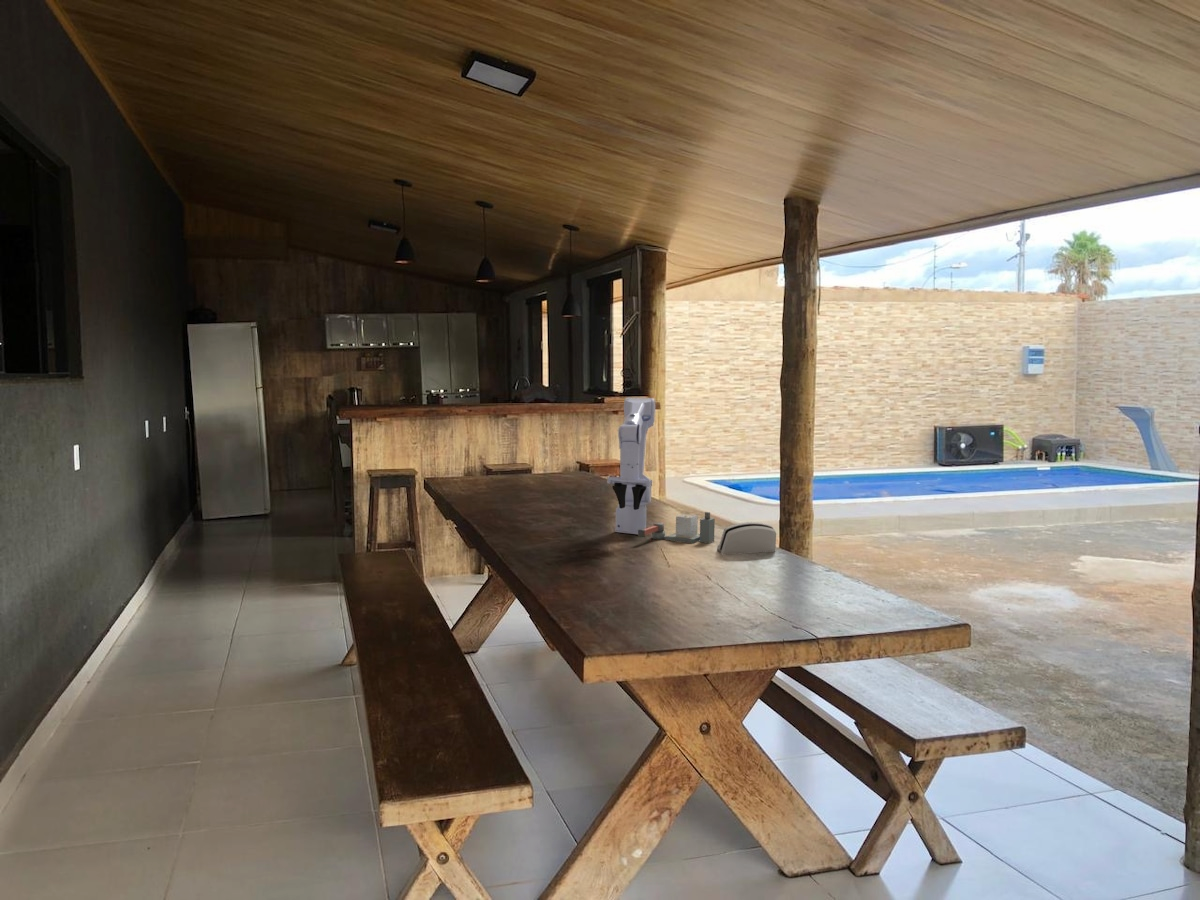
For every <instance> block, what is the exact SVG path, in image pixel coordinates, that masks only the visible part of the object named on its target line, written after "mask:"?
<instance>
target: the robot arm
mask: <svg viewBox="0 0 1200 900" xmlns="http://www.w3.org/2000/svg"><path fill="white" fill-rule="evenodd" d="M655 414H656V400H655V398H654V397H651V398H648V397H647V398H644V397H642V398H637V397H635V398H633V397H632V398H631V397H626V398H625V399H624V403H623V415H624V420H623V424H621V425H619V426H618V436H617V437H618V443H619V445H618V446H619V448H618V449H620V451H619V452H620V453H619V454H620V456H619V457H620V459H619V461H620V463H619V466H620V467H619V476H607V479H606V482H607V484H609V485H610V484H613V485H612V489H613V492H614V493H615V496H616V498H617V502H618V505H617V506H616V508H615V523H614V524H615V526H614V527H615V529H614V530H613V531H614V532H615V533H623V534H631V535H638V530H639V529H646V528H647V505H649V504H650V503H651V502H652V501H651V500H652V487H653V479H650V478H649V477H648V476H646V474H644V469H645V455H646V444H647V443H646V442H647V435H648V431H649V429H650V428H651V427H654V423H655V417H656V415H655Z"/></svg>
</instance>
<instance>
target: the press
mask: <svg viewBox="0 0 1200 900" xmlns="http://www.w3.org/2000/svg"><path fill="white" fill-rule="evenodd" d="M715 519H716V518H714V517H713V518H712V517H711V512H710V511H705V512H704V517H702V518H701V519H699V533H697V535H696V536H694V537H691V538H689V537H680V536H676V532H675V533H672V534H669V535H666V532H665V530H664V531H663V532H653V533H651V538H652V539H653V540H666V541H669V540H671V542H677V541H678V543H679V542H680V543H687V544H696V543H697V541H698V542H699V543H701V542H706V543H705V544H711V543H713V542H715V524H716V523H715ZM699 540H700V541H699ZM712 541H713V542H712ZM710 542H711V543H710Z"/></svg>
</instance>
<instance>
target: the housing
mask: <svg viewBox="0 0 1200 900" xmlns="http://www.w3.org/2000/svg"><path fill="white" fill-rule="evenodd" d="M698 518H699V517H698V515H695V514H685V513H683V514H679V515H676V516H675V533H676V536H680V537H689V538H691V537H694V536H696V535H697V534H698V530H699V529H698V527H699V525H698V521H699V520H698Z"/></svg>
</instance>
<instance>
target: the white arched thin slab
mask: <svg viewBox="0 0 1200 900" xmlns="http://www.w3.org/2000/svg"><path fill="white" fill-rule="evenodd" d="M776 542H777V532H776V530H775V529H774V527H773V526H772V525H770V524H767V523H762V522H757V521H756V522H755V521H754V522H753V521H751V522H749V521H747V522H740V523H735V524H732V525H729V526H727V527H724V529H723V532H722V535H721V538H720V542H719V544H718V545H717V547H716V552H720V554H721V555H738V554H739V553H743V554H754V553H756V554H758V553H759V552H762V553H775V552H776V544H777V543H776ZM739 555H740V554H739Z"/></svg>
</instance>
